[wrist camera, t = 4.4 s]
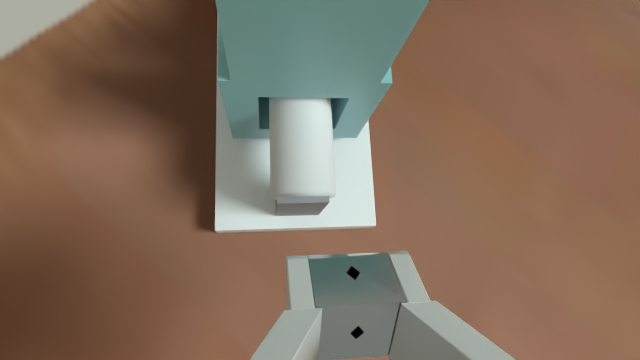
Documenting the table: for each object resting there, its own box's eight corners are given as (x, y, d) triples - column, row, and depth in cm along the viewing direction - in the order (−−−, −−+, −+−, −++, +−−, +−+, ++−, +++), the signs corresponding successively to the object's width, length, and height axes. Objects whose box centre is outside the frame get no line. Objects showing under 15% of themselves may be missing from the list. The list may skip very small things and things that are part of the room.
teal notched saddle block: (232, 71, 23) (185, -203, 10) (352, 74, 24) (457, -175, 11) (232, 138, 23) (180, -64, 9) (356, 137, 24) (476, -46, 10)
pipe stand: (221, -112, 28) (206, -234, 22) (347, -102, 30) (371, -215, 23) (217, 232, 23) (196, 216, 16) (370, 227, 24) (411, 210, 18)
